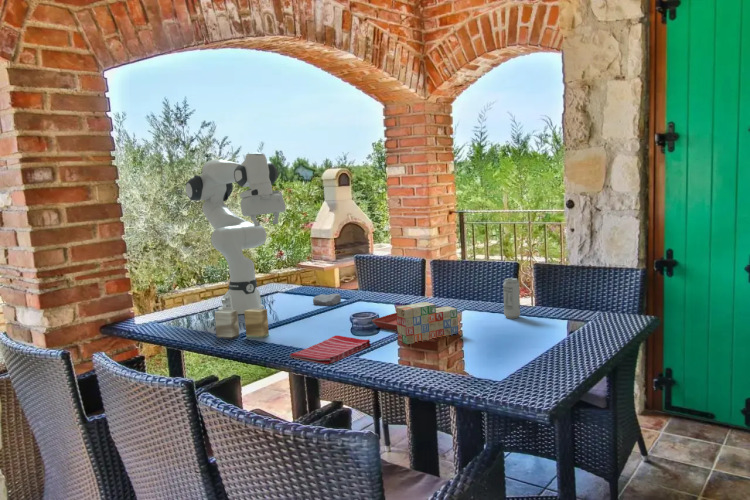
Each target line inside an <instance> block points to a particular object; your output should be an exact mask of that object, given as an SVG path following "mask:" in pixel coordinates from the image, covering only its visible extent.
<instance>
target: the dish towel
mask: <svg viewBox="0 0 750 500" xmlns="http://www.w3.org/2000/svg"><path fill="white" fill-rule="evenodd" d="M369 347H371V341H370V338H368V339H361V338H356V337H349V336H348V337H347V336H342V335H334V336H331V337H329V338H328V339H325V340H323V341H322V342H319V343H316V344H313V345H311V346H308V347H307V348H304V349H302V350H300V351H296V352H293V353H290V354H289V357H290V359H293V358H294V360H299V359H300V361H305V362H311V363H318V364H324V365H330V364H333V363H336V362H338V361H340V360H343V359H345V358H347V357H350V356H351V355H354V354H357V353H358V352H360V351H362V350H364V349H367V348H369ZM335 361H336V362H335ZM329 363H330V364H329Z"/></svg>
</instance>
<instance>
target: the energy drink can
mask: <svg viewBox="0 0 750 500" xmlns="http://www.w3.org/2000/svg"><path fill="white" fill-rule="evenodd" d="M502 284H503V288H502V289H503V292H502V293H503V315H504V317H505V318H506V319H511V320H515V319H518V318H519V317H520V316H521V302H520V301H521V298H520V297H521V296H520V294H521V292H520V282H519V280H518V278H517V277H507V278H504V281H503V283H502Z"/></svg>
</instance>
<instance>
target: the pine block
mask: <svg viewBox="0 0 750 500" xmlns="http://www.w3.org/2000/svg"><path fill="white" fill-rule="evenodd" d="M238 315H239V314H238V313H237V310H220V311H219V310H217V311H215V312H214V321H215V330H216V331H215V332H216V339H219V338H224V339H225V340H234V339H237V338H239V337H240V327H239V316H238ZM238 336H239V337H238ZM224 339H223V340H224Z"/></svg>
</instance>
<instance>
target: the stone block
mask: <svg viewBox="0 0 750 500" xmlns="http://www.w3.org/2000/svg"><path fill="white" fill-rule="evenodd" d="M340 301H341V302H342V297H341V294H339V293H331V294H324V293H320V294H319V295H315V296H314V297H313V298H312V303H313V305H319V306H335V305H334V304H336V305H338V304H339V303H341V302H340ZM338 302H339V303H338ZM337 303H338V304H337Z"/></svg>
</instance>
